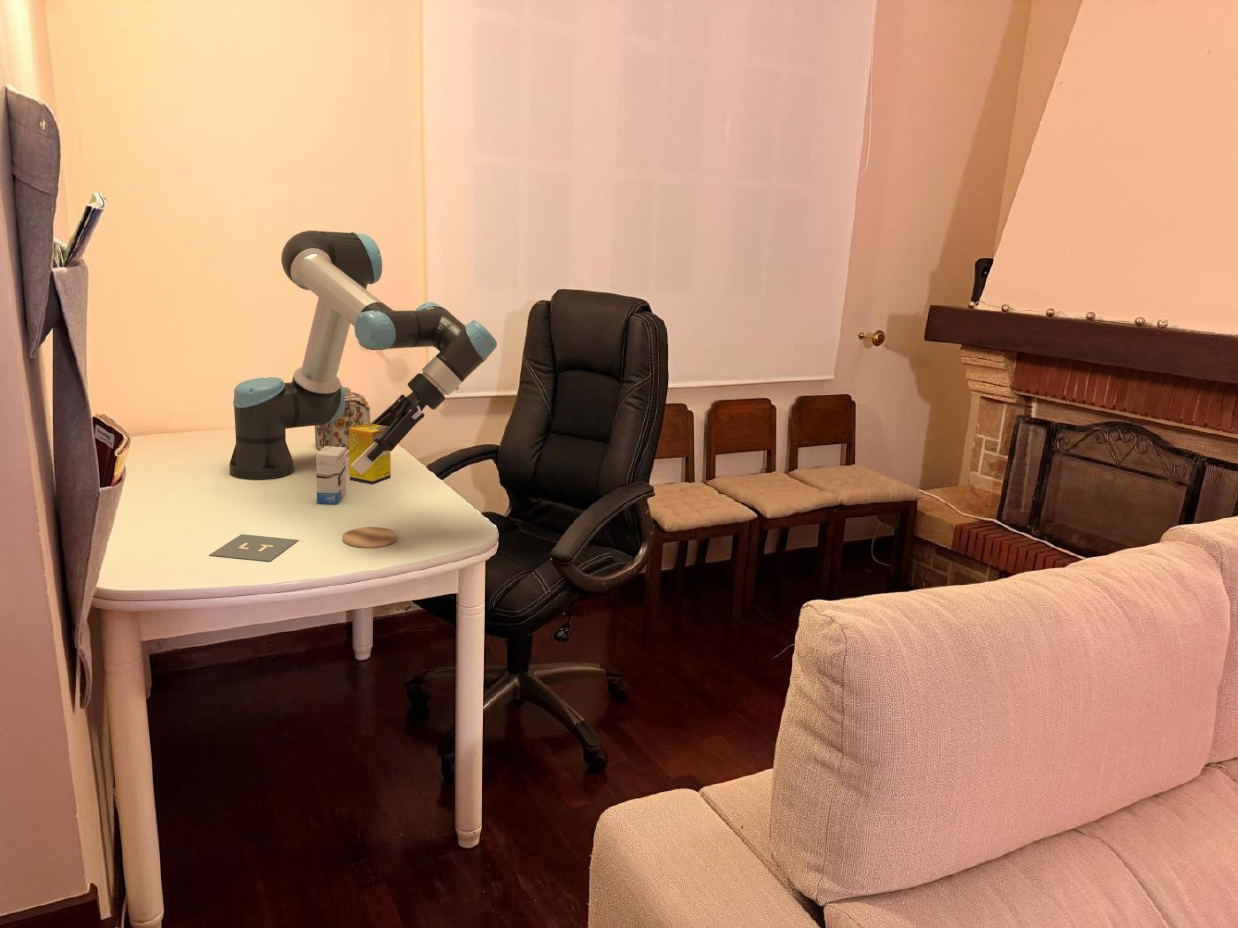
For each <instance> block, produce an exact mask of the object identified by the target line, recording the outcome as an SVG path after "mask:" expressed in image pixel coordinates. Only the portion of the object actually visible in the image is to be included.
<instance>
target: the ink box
mask: <svg viewBox="0 0 1238 928" xmlns="http://www.w3.org/2000/svg"><path fill="white" fill-rule="evenodd" d="M315 454H316V455H315V465H316V470H315V471H316V504H324V505H325V504H326V505H327V504H328V505H338V504H339V503H340V502H341V500H342V499H343V498H344V497H345V495H346V493H347V492H346V491H347V488H346V484H347V481H346V479H347V477H346V455H345V447H333V446H325V447H324V448H322V449H321V450H319V451H317V452H316V453H315Z"/></svg>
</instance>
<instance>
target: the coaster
mask: <svg viewBox="0 0 1238 928" xmlns="http://www.w3.org/2000/svg"><path fill="white" fill-rule="evenodd" d="M341 540H342V543H344V544H345V545H347V546H349V547H352V548H360V549H378V548H383V547H387V546H390V545H393V544H395V543H396V542H397V541H398V540H399V539H398V533H397V531H395V530H393V529H390V528H385V527H377V526H370V527H369V526H368V527H366V526H364V527H357V528H353V529H351V530H347V531H346V532H344V533H343V534H342V538H341Z"/></svg>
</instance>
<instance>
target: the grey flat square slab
mask: <svg viewBox="0 0 1238 928" xmlns="http://www.w3.org/2000/svg"><path fill="white" fill-rule="evenodd" d="M297 542H299V539H293V538H285V537H283V538H282V537H275V536H274V537H273V536H264V535H254V534H244V533H241V534H240V535H237V537H234V538H233V539H232V540H230V541H229V542H227V543H225V544H224V545H222V546H221V547H218V549H216V550H214V551H212V552H211V553H210V554H208V556H210V557H217V558H229V559H238V560H247V561H258V562H268V563H270V562H272V561H273V560H274V559H276V558H278V557H279V556H281V555H282V554H283V553H284V552H285V551H287V550H288V549H289V548H291V547H292V546H293V545H295V544H297Z"/></svg>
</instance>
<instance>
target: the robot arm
mask: <svg viewBox="0 0 1238 928" xmlns="http://www.w3.org/2000/svg"><path fill="white" fill-rule="evenodd" d="M280 259H281V262H280V263H281V266H282V269H283V270H282V271H283V272H284V274H285V275H286V277H287V278H288V279H289V280H290V281H291V282H292V283H293V284H294V285H296V287H298V288H300V289H302V290H306V291H311V292H312V293H313V294H314V295H315V296H317V303H316V307H315V309H314V310H315V311H314V315H313V320H312V323H311V328H310V332H309V335H308V339H307V345H306V349H305V354H304V358H303V361H302V366H300V367H299V368H297V369H295V371H294V373H293V376H292V379H291V382H285V381H284V379H282V378H280V377H276V376H275V377H274V376H272V377H271V376H270V377H269V376H268V377H257V378H251V379H246V380H244V381H241V382H239V383H238V384H237V385H236V386H235V388H234V390H233V401H232V404H233V407H234V408H233V410H234V412H233V413H234V414H233V415H234V427H235V432H234V433H235V445H234V446H233V447H234V448H233V451H232V454H231V458H230V461H229V465H228V466H229V467H228V469H229V474H230V475H231V476H233V477H236V478H238V479H246V480H269V479H278V478H282V477H285V476H289V475H291V474H292V473H294V471H295V464H294V463H295V462H294V459H293V457H292V455H291V452H290V448H289V446H288V443H287V441H286V439H287V437H286V436H287V435H286V434H287V433H286V432H287V431H286V430H287V429H295V428H296V429H297V428H305V427H312V426H314V427H315V425H325V424H328V423H333V422H335V421H337V420H338V419H339V418H340V417H341V415H342V413H343V411H344V408H345V403H346V400H345V399H344V397H345V391H344V388H343V387H344V386H343V385H342V382H341V380H340V378H339V376H337V375H338V372H339V368H340V365H341V360H342V357H343V353H344V349H345V346H346V341H347V338H348V334H349V330H350V328H351V327H350V326H351V325H352V326H353V327H354V335H355V338H356V339H357V341H358V344H359V345H360V346H361V348H364V349H366V350H377V351H384V350H392V349H394V350H395V349H408V348H409V349H411V348H428V347H429V348H430V347H432V348H435V349H437V350H438V351H439V352H438V353H437V354H436V355H435V356H433V357H432V359H431V360H430V361H428V362H427V364H426V365H424V366H423V367H422V368H421V371H422V373H421V372H419V373H417V374H416V375H415V376H414V377H413V378H411V380H410V381H409V382H408V383H407V387H408V388H409V390H411V391H412V392H410V394H408V395H407V396H406V395H404V394H403V393H402V394H400V395H399V397H398V398H397V399H396V400H395V401H394V402H393V403H392V404H391V405H390V406H389V407H388V408H387V409H385V410H384V411H383V412H381V413H380V415H379V416H377V417H376V418H375V419H374V420H373V421H372V422H370V424H376V425H382V426H388V427H389V428H388V429H387V430H386V431H385V433H384V434H383V435H382V436H381V438H380V439H378V438H377V439H374V441H375V442H374V443H373V444H372V445H371V446H370V447H369V448H368V449H367V450H366V451H365V452H364V453H363V454H362V455H361V456H360V457H359V458H358V459H357V460H356V461H355V462H354V463H353V464H352V465H351V466H352V467H353V468H354V469H355V470H356V471H357V472H359V473H360V474H361V475H362V474H363V473H364V472H365V471H366V470H367V469H368V468H369V467H370V466H371V465H372V464H373V463H374V462H375V461H376V460H377V459H378V458H379V457H380V456H381V455H382V454H383V453H384V452H385V451H388V450H389V451H390V452H392V451H393V450H394V449H395V448H396V446H398V445H399V443H400V442H401V441H403V439H404V438H405V437H406V436H407V434H408V433H409V432H410V431H411V430H412V429H413V428H414V427H415V426H416V425H417V424H418V422H420V421H421V420H422V419H423V418H425V414H424V413H423V410H424V409H425V408H426V406H428V407H429V409H430V410H433V411H435V410H437V408H438V407H439V406H440V405H441V404H443V402H444V401H445V400H446V397H445V396H446V395H447V396H450V395H451V394H452V393H453V392H454V391H458V390H460V385H461V384H462V383H464V381H465V380H466V379H467V378H468V377H469V376H470V375H471V374H472V373H473V372H475V370H477V368H478V367H479V366H481V365H482V364H483V363H484V362H485V361H487V359H488V358H489V356H491V354H492V353H493V352H494V351H495V350H496V349H497V345H498V342H497V340H496V338H495V337H494V335H492V333H491V332H490V331H489V330H488V329H487V328H486V327H484V326H483V324H482V323H480V322H479V321H477V320H474V319H472V320H471V321H470V322H468V323H467V324H464V323H462V322H461V321H460V320H459V319H458V318H456V317H455V315H453V314H452V313H451V312H450V311H449V310H448V309H447V308H444V307H443V306H441V305H440V304H439V303H436V302H433V301H427V302H424V303H423V304H420V305H419V306H418V307H417V308H415V310H396V309H392V308H391V307H390V306H388V305H387V304H386V303H384V302H382V300H380V299H379V298H377V297H376V296H375V295H374V294H372V292H370V291H369V290H367V288H368V285H373V284H376V283H377V282H379V281H380V279H381V278H382V273H383V257H382V255H381V250H380V248H379V245H378V244H377V242H376V241H375V240H374V238H373V237H371V236H370V235H367V234H366V233H357V232H354V231H350V232H343V231H341V232H340V231H327V230H326V231H325V230H323V231H321V230H320V231H319V230H304V231H301V232H298V233H296V234H294V235H292V237H291V238H289V239H288V241H287V242H286V243H285V244H284V246H283V249H282V251H281V258H280ZM345 457H347V458H348V459H349V450H348V451H347V452H346V453H345Z"/></svg>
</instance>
